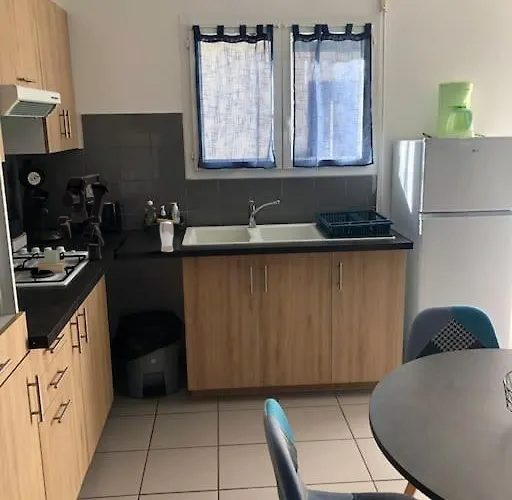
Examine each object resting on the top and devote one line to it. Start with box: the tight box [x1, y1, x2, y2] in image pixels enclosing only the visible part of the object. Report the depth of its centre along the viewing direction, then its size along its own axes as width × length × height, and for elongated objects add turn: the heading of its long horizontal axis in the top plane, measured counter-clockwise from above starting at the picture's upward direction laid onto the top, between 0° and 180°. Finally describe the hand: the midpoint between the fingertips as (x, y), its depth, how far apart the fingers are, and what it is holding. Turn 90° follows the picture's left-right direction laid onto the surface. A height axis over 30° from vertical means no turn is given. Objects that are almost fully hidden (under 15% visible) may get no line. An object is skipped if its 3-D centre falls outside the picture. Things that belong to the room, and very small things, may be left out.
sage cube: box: [43, 249, 61, 264], centre depth 253 cm, size 5×5×5 cm
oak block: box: [37, 259, 66, 274], centre depth 254 cm, size 10×10×4 cm
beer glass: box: [159, 221, 174, 253], centre depth 298 cm, size 7×7×15 cm
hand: (80, 238), depth 265 cm, fingers open, 9 cm apart
